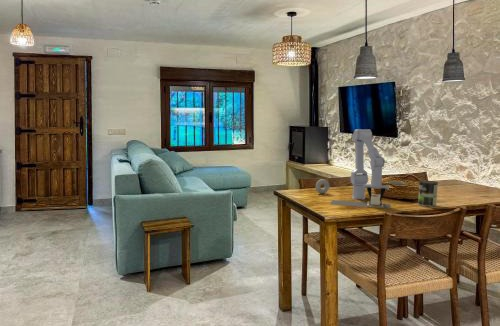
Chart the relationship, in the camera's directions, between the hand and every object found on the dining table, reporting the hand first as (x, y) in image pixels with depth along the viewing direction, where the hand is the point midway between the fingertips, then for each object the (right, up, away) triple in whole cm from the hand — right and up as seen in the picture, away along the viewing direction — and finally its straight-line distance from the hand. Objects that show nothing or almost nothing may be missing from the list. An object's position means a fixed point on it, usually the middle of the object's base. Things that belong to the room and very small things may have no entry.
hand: (375, 200), depth 248 cm
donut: (-25, +1, +37) cm, 44 cm away
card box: (0, -1, 0) cm, 1 cm away
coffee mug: (+20, 0, +27) cm, 34 cm away
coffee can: (+32, -3, +5) cm, 33 cm away
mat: (-8, -3, +3) cm, 9 cm away
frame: (0, -3, 0) cm, 3 cm away
